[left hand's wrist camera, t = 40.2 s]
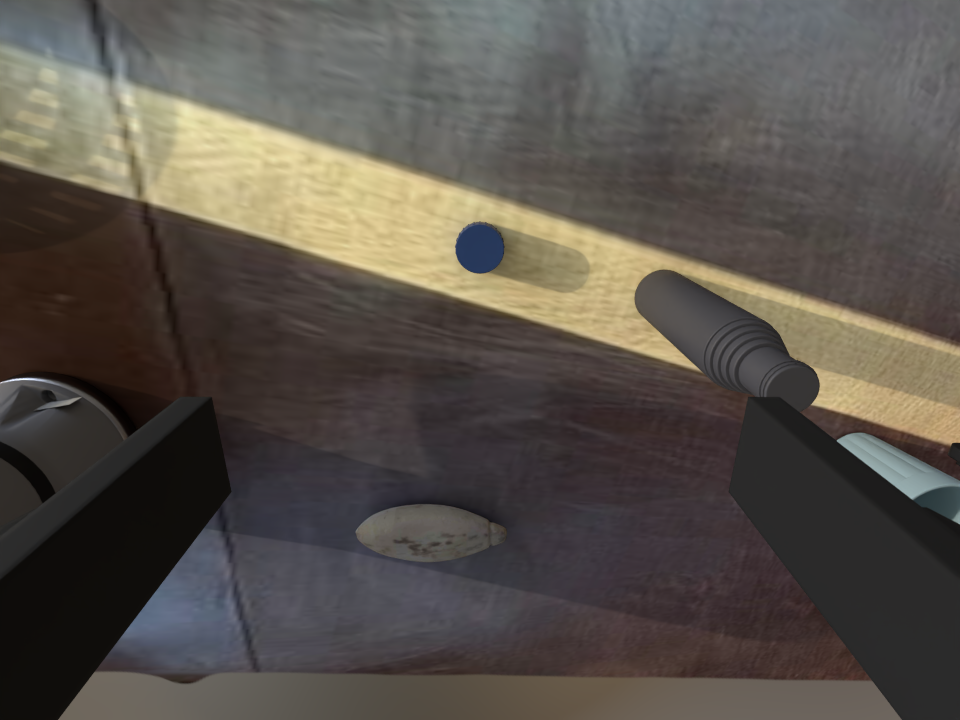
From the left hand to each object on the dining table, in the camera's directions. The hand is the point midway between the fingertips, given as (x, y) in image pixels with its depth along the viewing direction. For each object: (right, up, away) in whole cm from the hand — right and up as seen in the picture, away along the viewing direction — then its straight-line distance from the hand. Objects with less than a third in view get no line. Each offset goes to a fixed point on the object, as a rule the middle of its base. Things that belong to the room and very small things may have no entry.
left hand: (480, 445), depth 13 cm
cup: (+37, -7, +39) cm, 54 cm away
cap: (0, +11, +30) cm, 32 cm away
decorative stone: (-5, -15, +42) cm, 45 cm away
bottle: (+16, +8, +33) cm, 37 cm away
